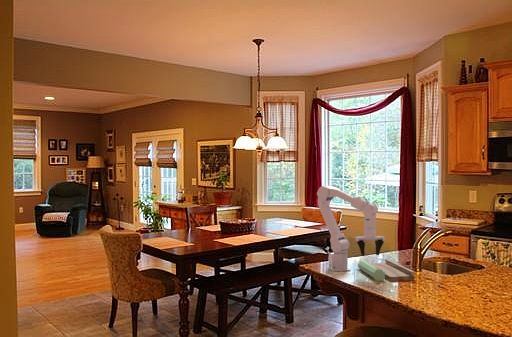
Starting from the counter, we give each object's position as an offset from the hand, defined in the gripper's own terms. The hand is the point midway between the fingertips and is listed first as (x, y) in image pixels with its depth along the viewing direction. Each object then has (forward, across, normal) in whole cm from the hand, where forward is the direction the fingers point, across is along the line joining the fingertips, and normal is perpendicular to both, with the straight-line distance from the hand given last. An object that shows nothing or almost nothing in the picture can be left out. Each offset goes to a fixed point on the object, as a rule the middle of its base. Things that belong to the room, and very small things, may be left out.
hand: (370, 255), depth 222 cm
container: (+10, 0, 0) cm, 10 cm away
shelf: (+9, +10, 0) cm, 14 cm away
